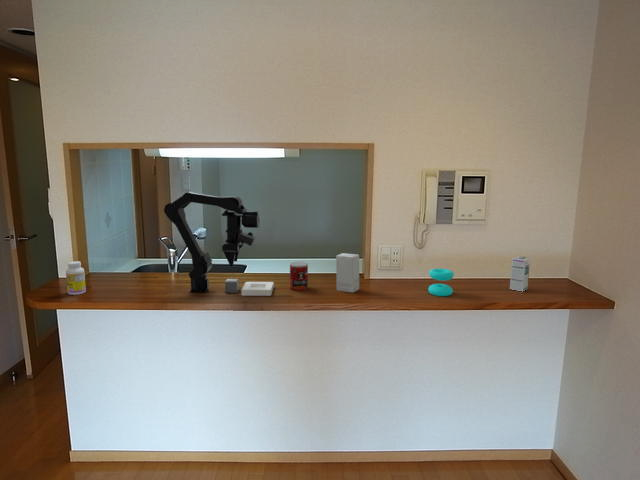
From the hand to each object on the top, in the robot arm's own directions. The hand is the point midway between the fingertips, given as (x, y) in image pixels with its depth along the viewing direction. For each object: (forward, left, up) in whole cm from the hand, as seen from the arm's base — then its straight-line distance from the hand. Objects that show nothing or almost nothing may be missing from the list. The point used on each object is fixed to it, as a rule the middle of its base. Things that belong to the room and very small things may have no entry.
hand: (233, 263), depth 185 cm
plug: (-1, 0, -12) cm, 12 cm away
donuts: (+87, -1, -12) cm, 88 cm away
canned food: (+27, +5, -12) cm, 30 cm away
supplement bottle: (-64, -4, -12) cm, 65 cm away
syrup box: (+123, +5, -12) cm, 124 cm away
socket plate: (+10, 0, -12) cm, 16 cm away
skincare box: (+48, +3, -12) cm, 50 cm away
